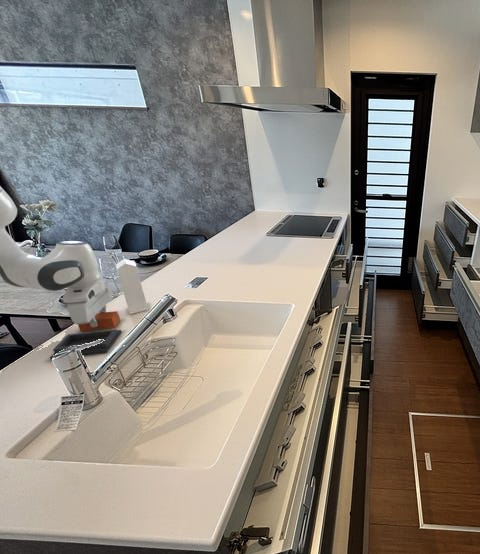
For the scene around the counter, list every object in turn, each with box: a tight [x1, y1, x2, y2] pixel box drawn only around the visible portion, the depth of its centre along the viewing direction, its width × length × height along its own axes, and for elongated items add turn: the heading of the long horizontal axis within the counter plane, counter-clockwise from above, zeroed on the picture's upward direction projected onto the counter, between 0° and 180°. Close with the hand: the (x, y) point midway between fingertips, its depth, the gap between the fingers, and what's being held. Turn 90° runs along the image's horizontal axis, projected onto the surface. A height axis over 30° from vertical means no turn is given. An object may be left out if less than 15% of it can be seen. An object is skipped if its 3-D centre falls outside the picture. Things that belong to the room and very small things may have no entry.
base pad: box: [49, 328, 122, 361], centre depth 99 cm, size 14×12×2 cm
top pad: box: [77, 310, 121, 332], centre depth 109 cm, size 10×5×4 cm, turn 108°
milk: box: [115, 255, 149, 315], centre depth 117 cm, size 6×6×22 cm
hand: (99, 321), depth 109 cm, fingers closed on top pad, 5 cm apart
